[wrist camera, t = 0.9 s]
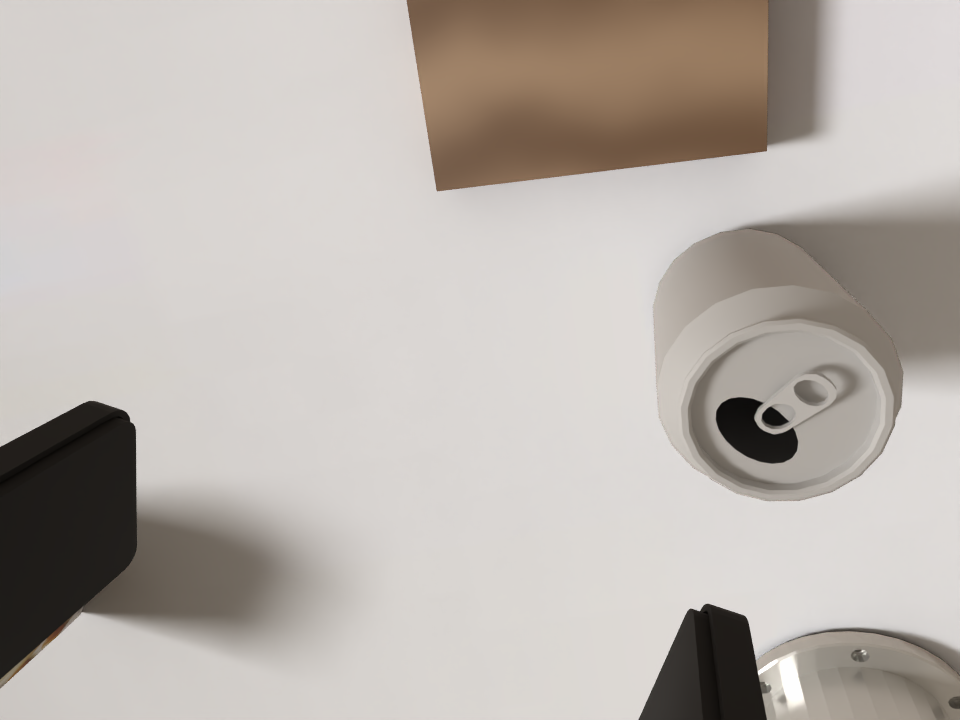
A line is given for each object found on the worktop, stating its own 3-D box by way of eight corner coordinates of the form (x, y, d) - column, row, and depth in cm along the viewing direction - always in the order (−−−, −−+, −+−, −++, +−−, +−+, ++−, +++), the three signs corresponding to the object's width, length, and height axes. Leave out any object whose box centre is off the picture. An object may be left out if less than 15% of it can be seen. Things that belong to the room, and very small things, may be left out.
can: (620, 315, 32) (608, 427, 21) (730, 190, 29) (782, 247, 18) (738, 407, 32) (785, 562, 22) (860, 293, 29) (987, 410, 18)
